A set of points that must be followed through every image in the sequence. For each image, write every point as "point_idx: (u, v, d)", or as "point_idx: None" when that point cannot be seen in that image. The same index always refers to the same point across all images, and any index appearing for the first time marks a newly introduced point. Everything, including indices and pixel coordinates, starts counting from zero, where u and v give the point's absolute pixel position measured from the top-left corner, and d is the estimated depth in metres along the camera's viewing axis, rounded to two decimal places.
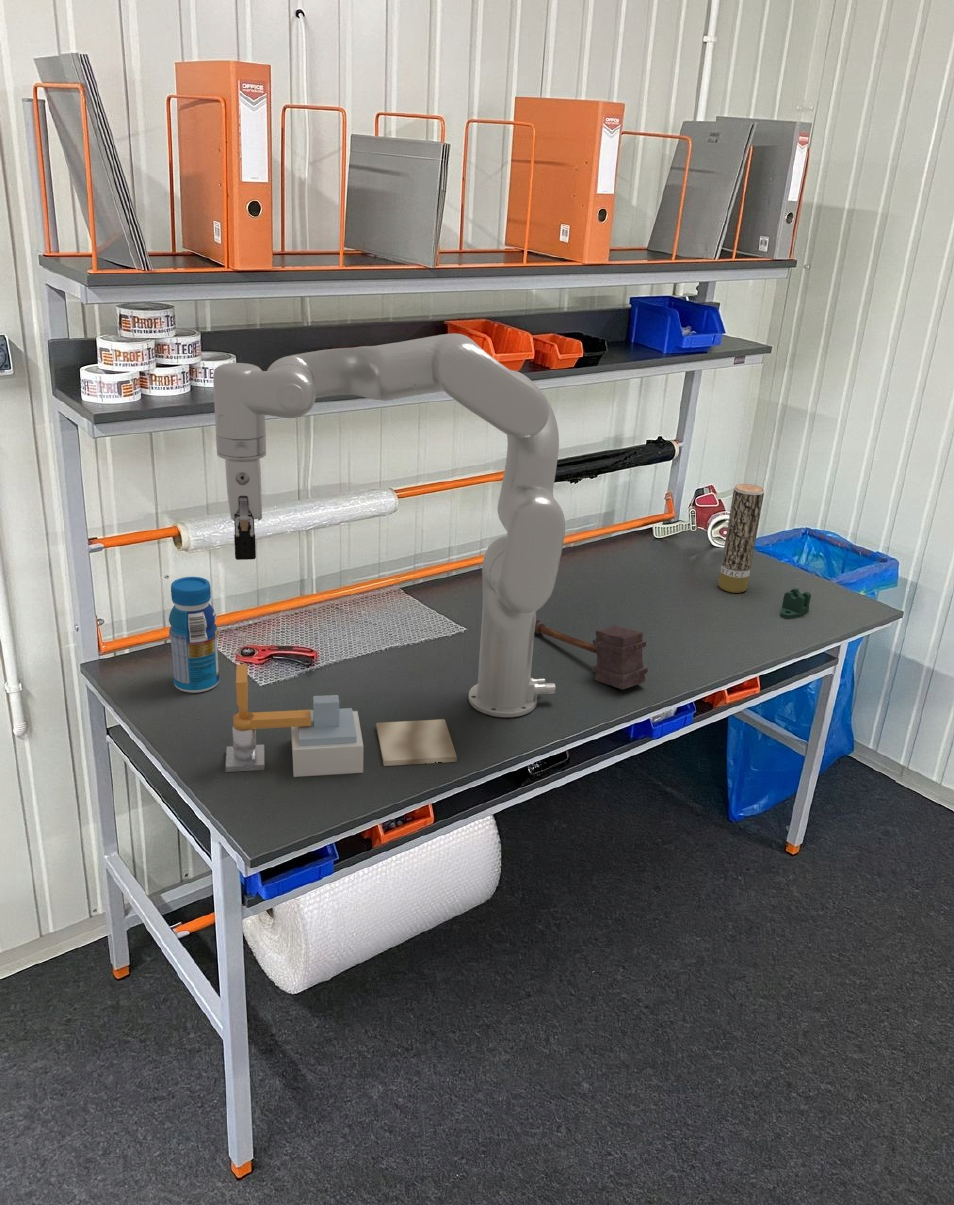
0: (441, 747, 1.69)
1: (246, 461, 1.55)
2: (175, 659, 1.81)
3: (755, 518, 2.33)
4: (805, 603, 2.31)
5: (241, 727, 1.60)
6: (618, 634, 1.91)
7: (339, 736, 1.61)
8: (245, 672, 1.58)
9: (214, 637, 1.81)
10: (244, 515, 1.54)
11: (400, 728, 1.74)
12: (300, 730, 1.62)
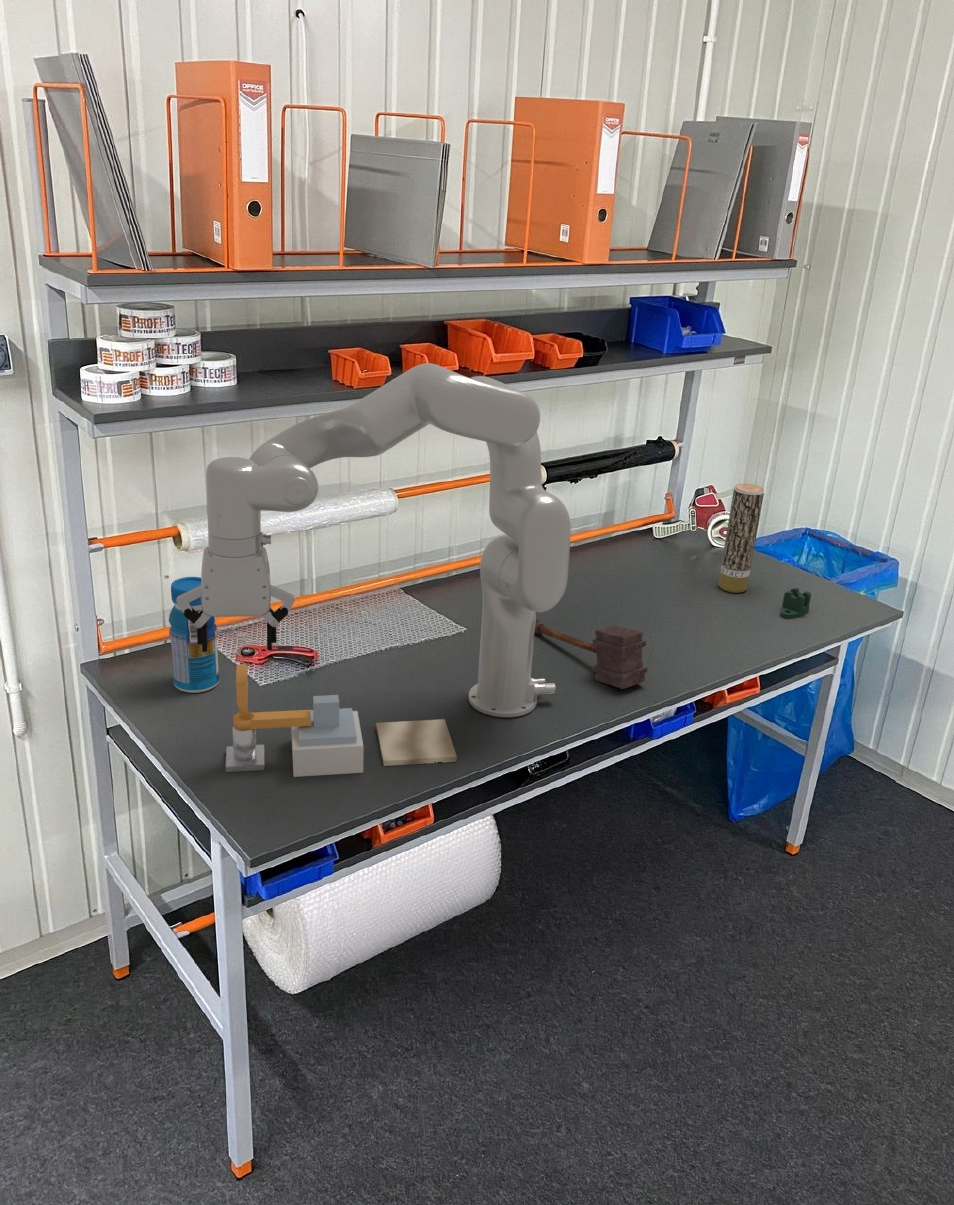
0: (441, 747, 1.69)
1: (263, 550, 1.51)
2: (175, 659, 1.81)
3: (755, 518, 2.33)
4: (805, 603, 2.31)
5: (241, 727, 1.60)
6: (617, 634, 1.91)
7: (339, 736, 1.61)
8: (245, 672, 1.58)
9: (214, 637, 1.81)
10: (292, 595, 1.54)
11: (400, 728, 1.74)
12: (300, 730, 1.62)
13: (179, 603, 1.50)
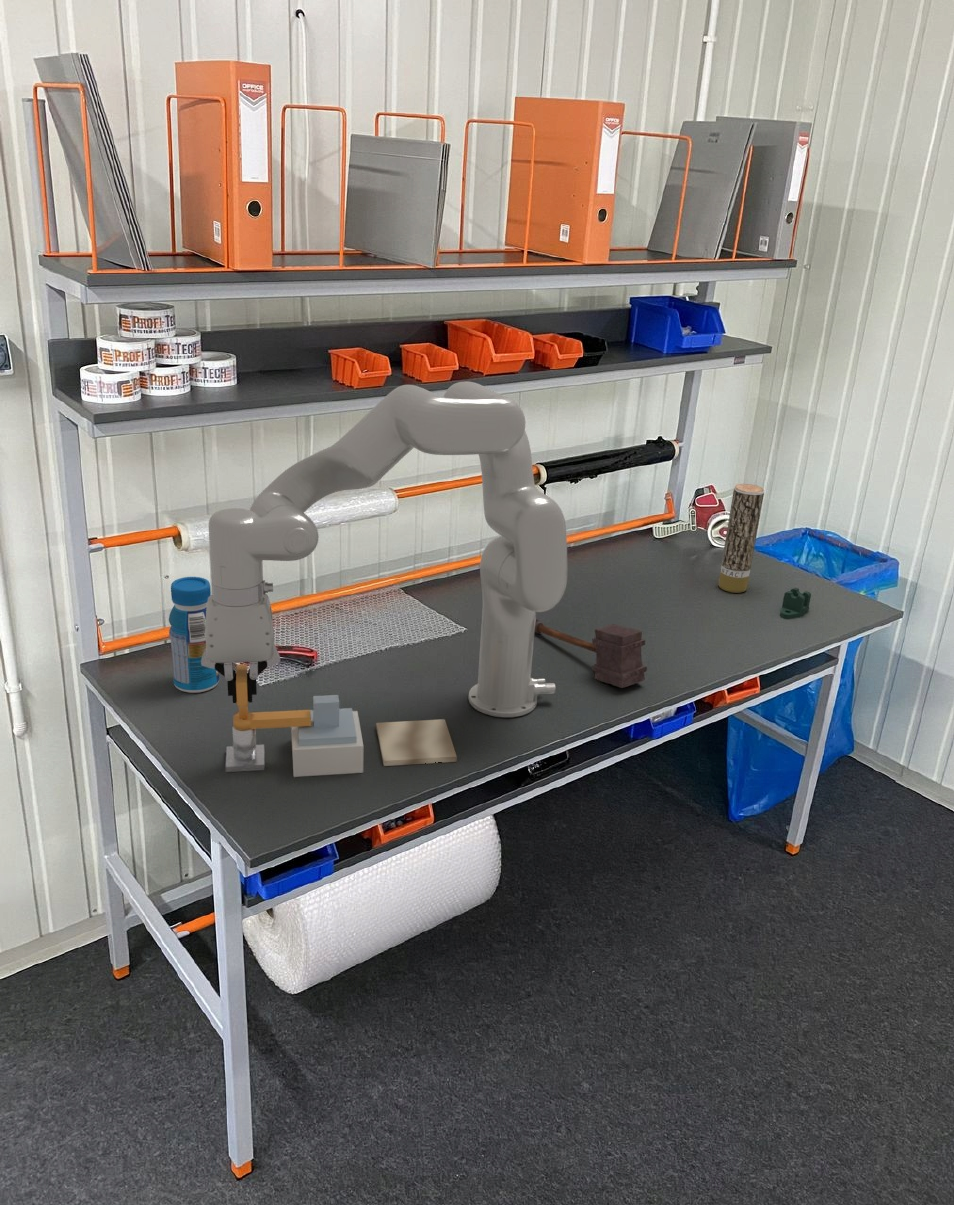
0: (441, 747, 1.69)
1: (266, 597, 1.54)
2: (175, 659, 1.81)
3: (755, 518, 2.33)
4: (805, 603, 2.31)
5: (241, 727, 1.60)
6: (617, 633, 1.91)
7: (339, 736, 1.61)
8: (245, 672, 1.58)
9: None
10: (279, 657, 1.58)
11: (400, 728, 1.74)
12: (300, 730, 1.62)
13: (205, 664, 1.55)
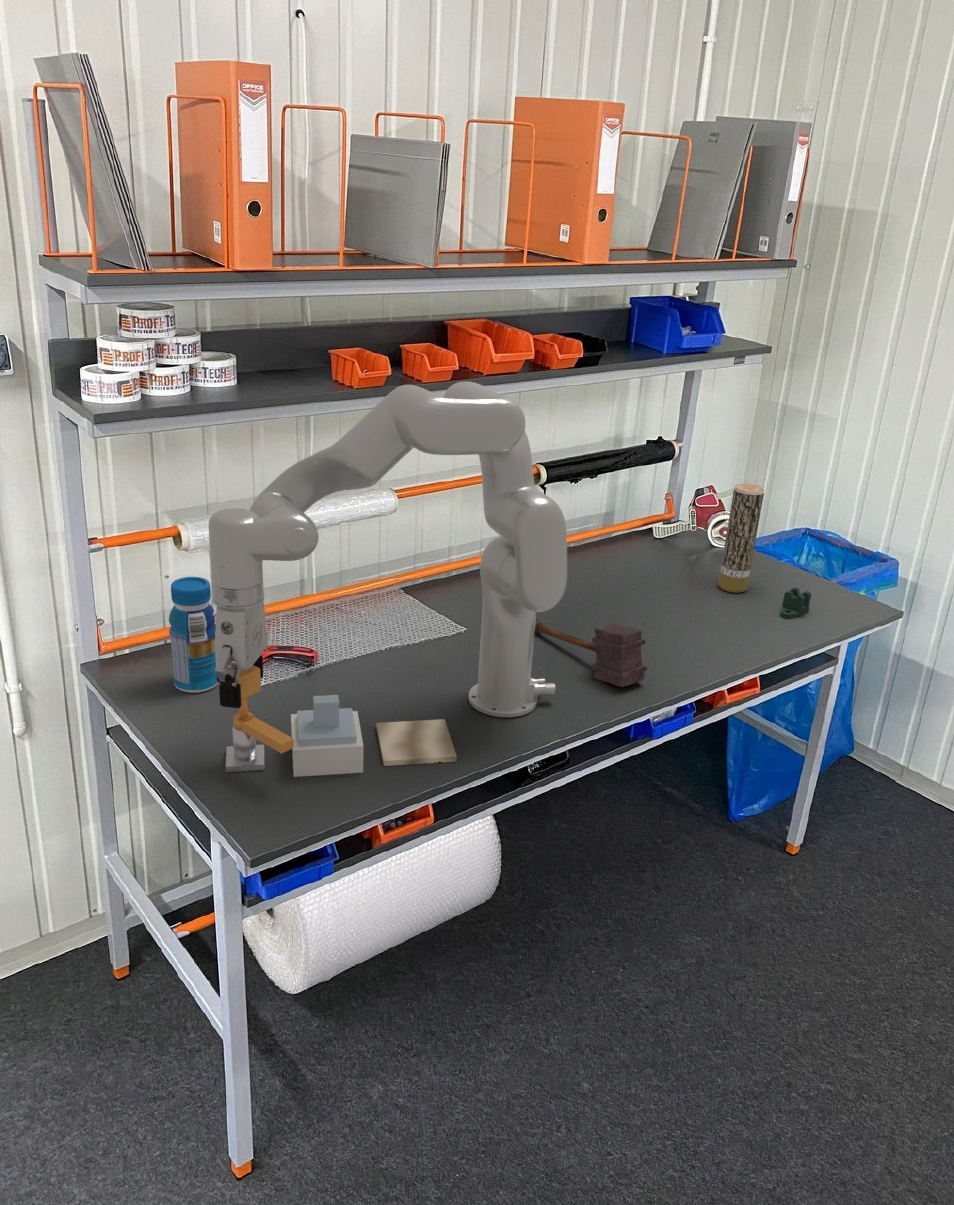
0: (441, 747, 1.69)
1: (232, 611, 1.49)
2: (175, 659, 1.81)
3: (755, 518, 2.33)
4: (805, 602, 2.31)
5: (234, 724, 1.60)
6: (617, 632, 1.92)
7: (339, 736, 1.61)
8: (245, 674, 1.58)
9: (214, 637, 1.81)
10: (220, 667, 1.48)
11: (400, 728, 1.74)
12: (300, 730, 1.62)
13: None
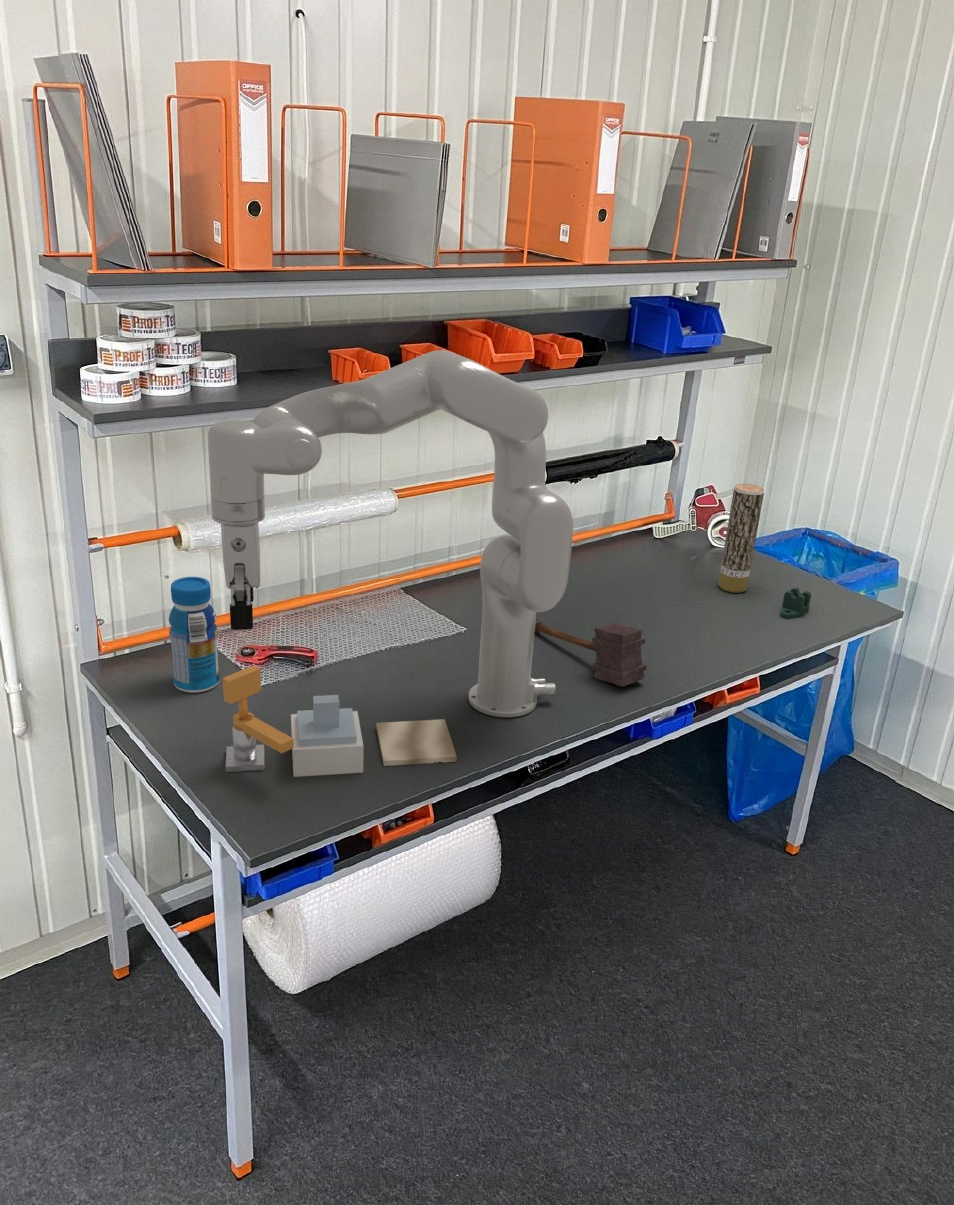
0: (441, 747, 1.69)
1: (242, 526, 1.44)
2: (175, 659, 1.81)
3: (755, 518, 2.33)
4: (805, 602, 2.31)
5: (234, 724, 1.60)
6: (617, 632, 1.92)
7: (339, 736, 1.61)
8: (245, 674, 1.58)
9: (214, 637, 1.81)
10: (240, 585, 1.43)
11: (400, 728, 1.74)
12: (300, 730, 1.62)
13: None
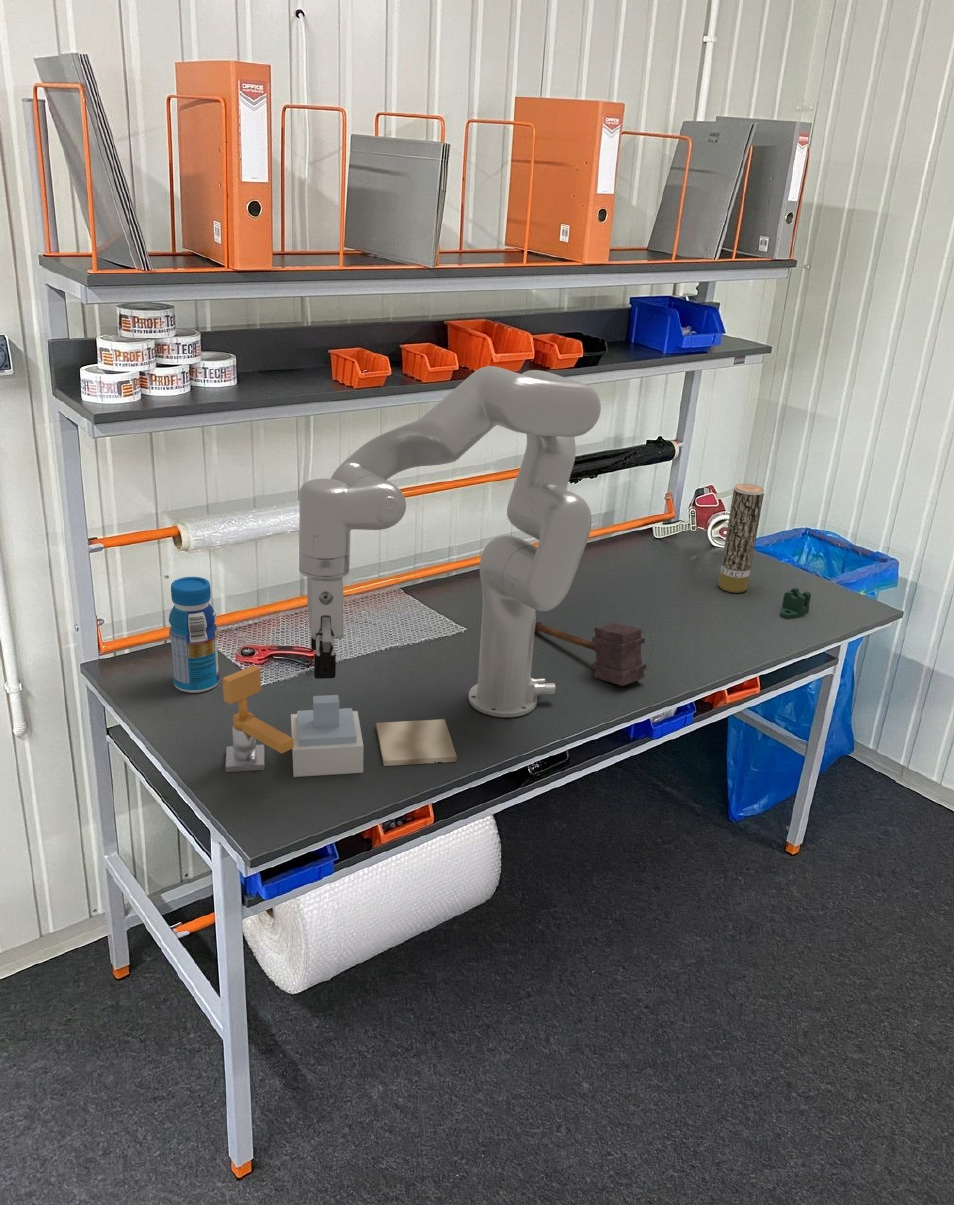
0: (441, 747, 1.69)
1: (330, 580, 1.50)
2: (175, 659, 1.81)
3: (755, 518, 2.33)
4: (805, 603, 2.31)
5: (234, 724, 1.60)
6: (617, 631, 1.92)
7: (339, 736, 1.61)
8: (245, 674, 1.58)
9: (214, 637, 1.81)
10: (327, 637, 1.49)
11: (400, 728, 1.74)
12: (300, 730, 1.62)
13: None
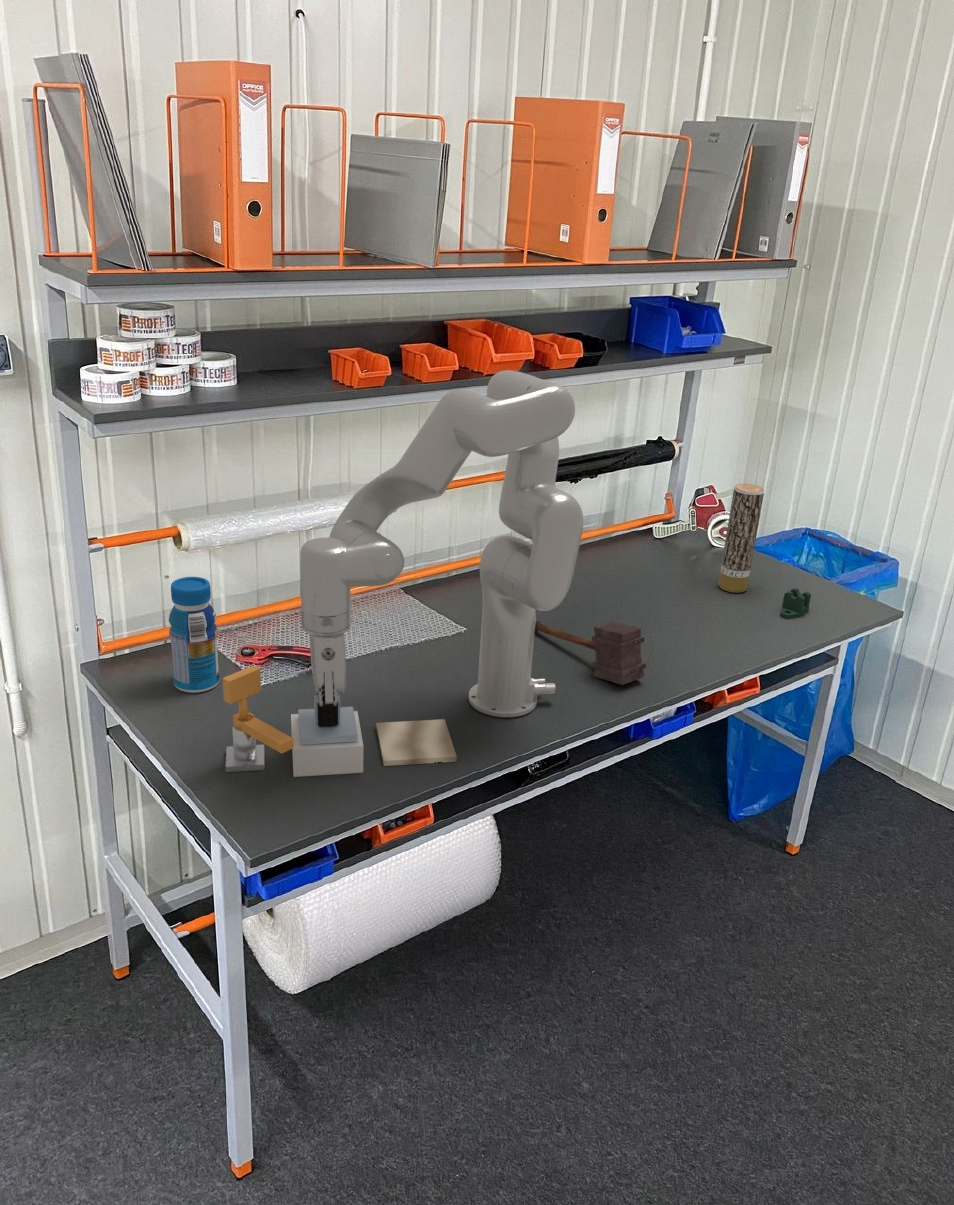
0: (441, 747, 1.69)
1: (332, 637, 1.54)
2: (175, 659, 1.81)
3: (755, 518, 2.33)
4: (805, 603, 2.31)
5: (234, 724, 1.60)
6: (616, 630, 1.92)
7: (341, 734, 1.61)
8: (245, 674, 1.58)
9: (214, 637, 1.81)
10: (329, 700, 1.56)
11: (400, 728, 1.74)
12: (301, 729, 1.62)
13: None
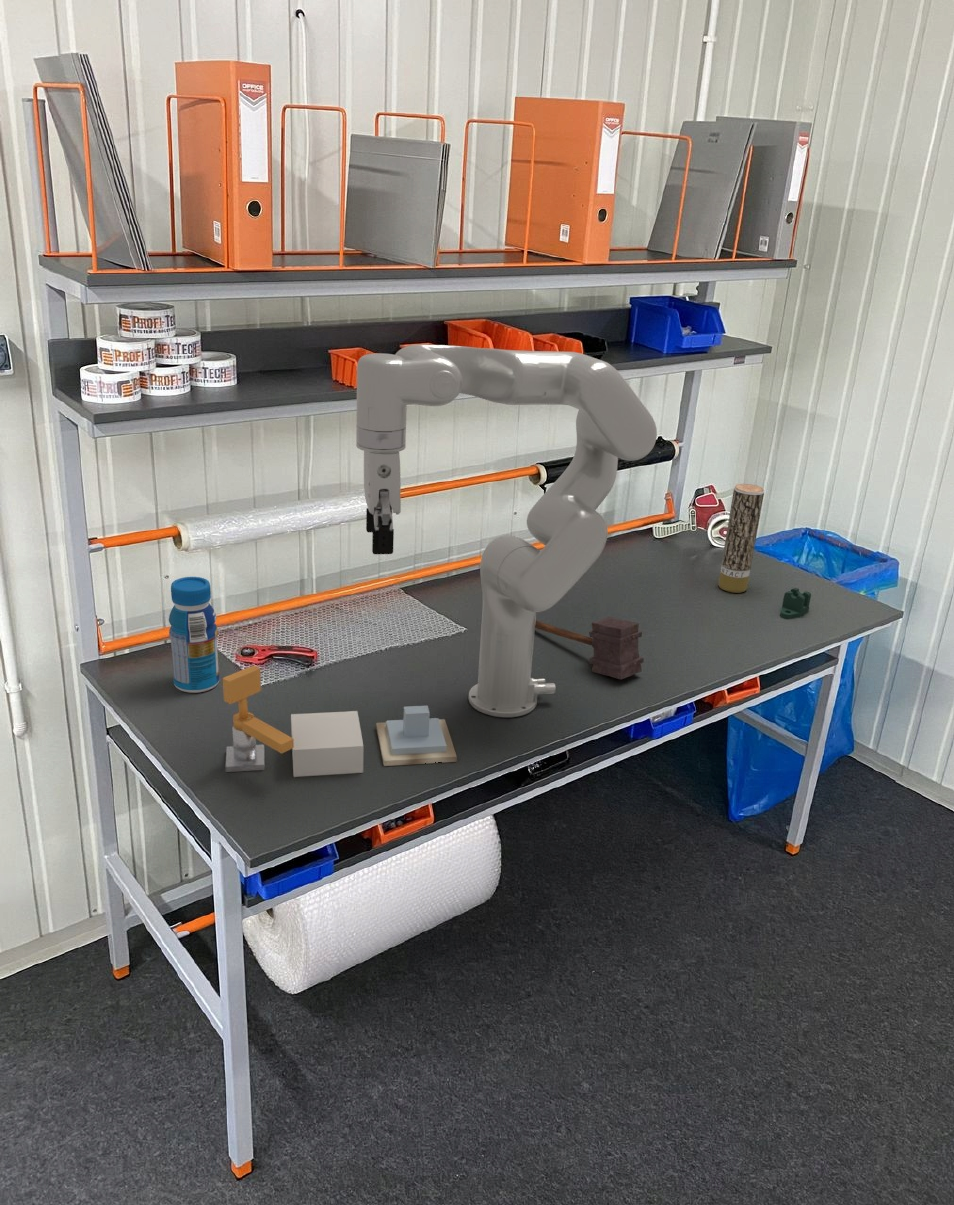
0: None
1: (388, 453, 1.52)
2: (175, 659, 1.81)
3: (755, 518, 2.33)
4: (805, 603, 2.31)
5: (234, 724, 1.60)
6: (614, 626, 1.94)
7: (430, 745, 1.67)
8: (245, 674, 1.58)
9: (214, 637, 1.81)
10: (386, 509, 1.51)
11: None
12: (392, 739, 1.68)
13: None
